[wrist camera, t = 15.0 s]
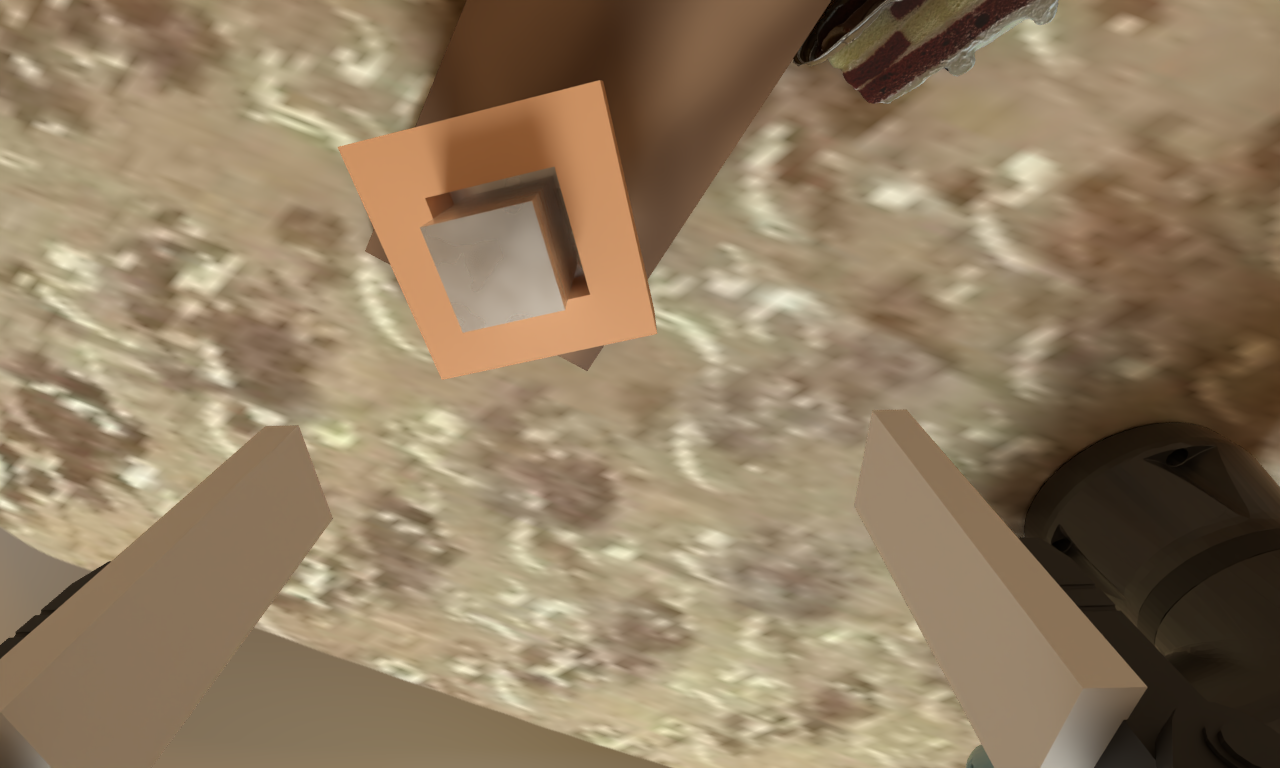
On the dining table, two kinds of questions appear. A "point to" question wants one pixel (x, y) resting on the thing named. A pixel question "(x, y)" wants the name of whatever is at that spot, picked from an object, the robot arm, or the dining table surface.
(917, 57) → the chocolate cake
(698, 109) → the board
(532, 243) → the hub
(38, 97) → the dining table surface
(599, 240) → the collar
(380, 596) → the dining table surface
